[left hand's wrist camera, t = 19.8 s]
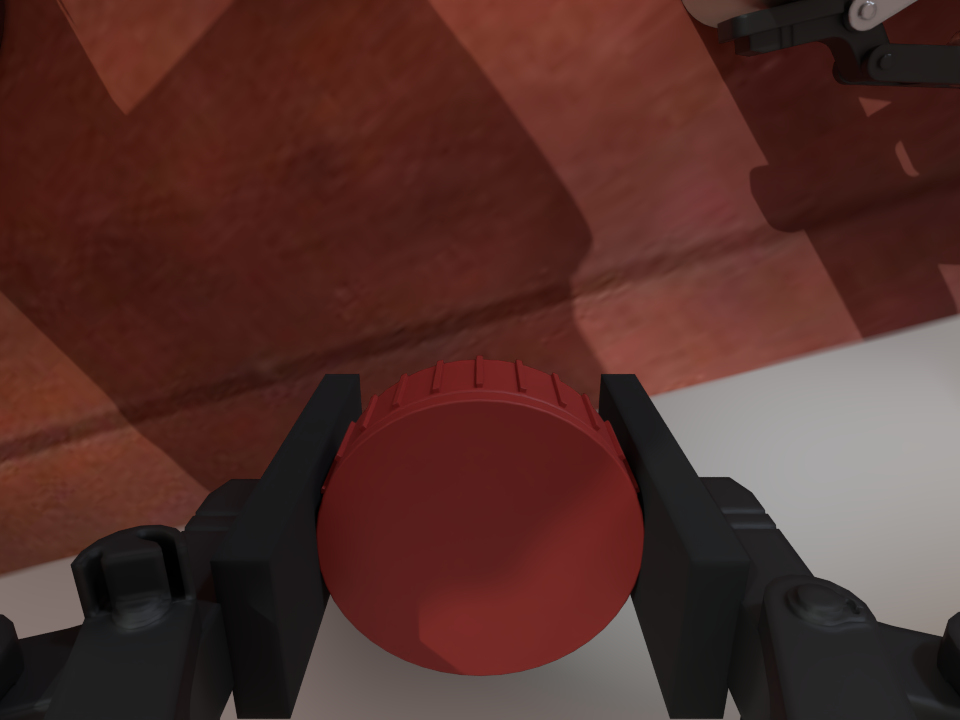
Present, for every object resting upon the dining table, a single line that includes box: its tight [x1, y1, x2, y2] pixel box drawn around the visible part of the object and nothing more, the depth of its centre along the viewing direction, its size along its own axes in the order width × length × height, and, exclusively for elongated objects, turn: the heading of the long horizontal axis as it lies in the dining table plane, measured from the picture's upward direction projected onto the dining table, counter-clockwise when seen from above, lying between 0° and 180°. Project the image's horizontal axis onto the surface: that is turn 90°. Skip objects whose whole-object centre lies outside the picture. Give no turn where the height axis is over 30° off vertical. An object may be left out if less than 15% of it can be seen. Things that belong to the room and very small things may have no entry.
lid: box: [316, 356, 645, 676], centre depth 11 cm, size 6×6×2 cm
